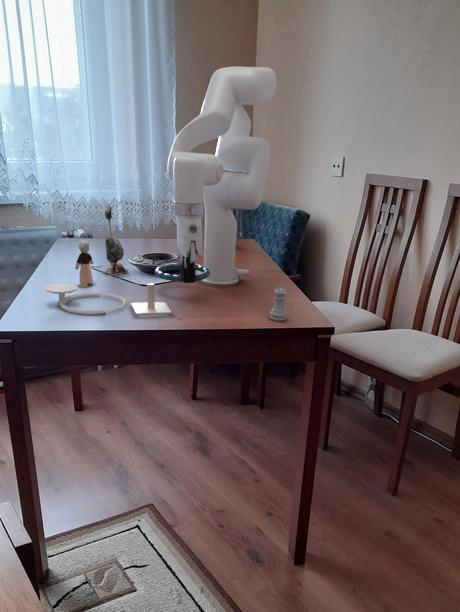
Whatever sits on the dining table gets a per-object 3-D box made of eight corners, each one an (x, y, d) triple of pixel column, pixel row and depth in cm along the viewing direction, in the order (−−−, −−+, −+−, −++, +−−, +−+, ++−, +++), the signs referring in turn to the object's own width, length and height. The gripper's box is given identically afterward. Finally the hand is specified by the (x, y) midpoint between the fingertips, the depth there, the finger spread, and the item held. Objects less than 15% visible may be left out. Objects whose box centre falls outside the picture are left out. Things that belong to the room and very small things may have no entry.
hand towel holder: (121, 299, 135) (35, 296, 134) (122, 317, 137) (37, 313, 136) (129, 281, 150) (52, 278, 149) (130, 297, 152) (54, 294, 151)
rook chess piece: (268, 316, 144) (270, 285, 140) (285, 316, 144) (288, 286, 140) (270, 321, 140) (273, 290, 136) (288, 322, 140) (291, 290, 136)
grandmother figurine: (87, 288, 157) (84, 243, 152) (74, 287, 158) (71, 241, 152) (98, 282, 164) (95, 238, 158) (86, 281, 165) (83, 237, 159)
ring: (202, 267, 163) (202, 261, 162) (216, 281, 150) (216, 275, 149) (150, 269, 159) (150, 263, 158) (160, 283, 146) (160, 277, 145)
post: (165, 306, 147) (165, 279, 143) (172, 316, 139) (172, 288, 136) (131, 307, 144) (130, 280, 141) (136, 318, 136) (135, 289, 133)
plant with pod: (99, 277, 169) (95, 208, 160) (108, 269, 179) (104, 204, 170) (125, 279, 169) (123, 210, 160) (132, 270, 179) (131, 205, 170)
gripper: (211, 215, 134) (209, 289, 143) (195, 204, 147) (194, 273, 156) (180, 215, 132) (180, 290, 141) (167, 204, 145) (168, 274, 154)
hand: (188, 280), depth 149 cm, fingers closed on ring, 1 cm apart
